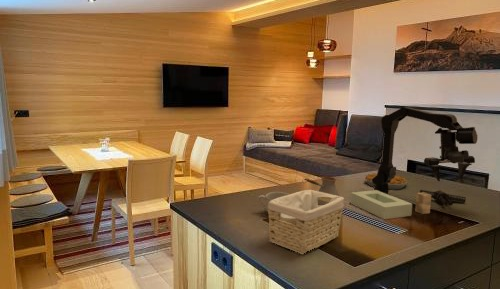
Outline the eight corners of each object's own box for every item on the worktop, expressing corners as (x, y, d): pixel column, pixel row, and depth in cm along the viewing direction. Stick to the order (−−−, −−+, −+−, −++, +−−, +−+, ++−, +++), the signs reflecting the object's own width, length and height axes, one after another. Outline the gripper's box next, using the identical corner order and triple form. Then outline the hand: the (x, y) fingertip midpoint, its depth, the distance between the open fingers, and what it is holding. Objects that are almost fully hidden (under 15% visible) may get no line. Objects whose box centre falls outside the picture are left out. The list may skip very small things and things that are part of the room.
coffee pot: (325, 201, 168) (327, 169, 166) (346, 208, 159) (348, 174, 157) (292, 210, 155) (293, 175, 153) (312, 218, 146) (314, 181, 144)
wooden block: (415, 211, 157) (416, 193, 155) (422, 210, 158) (423, 192, 157) (422, 214, 153) (424, 195, 152) (429, 213, 154) (431, 194, 153)
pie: (410, 183, 204) (410, 175, 203) (403, 192, 185) (403, 183, 185) (370, 178, 215) (370, 170, 214) (359, 186, 197) (360, 177, 196)
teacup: (293, 211, 153) (294, 193, 152) (287, 220, 143) (288, 200, 142) (262, 207, 158) (262, 189, 157) (254, 215, 148) (254, 196, 146)
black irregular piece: (476, 202, 157) (463, 192, 171) (428, 194, 160) (419, 185, 175) (473, 214, 158) (460, 203, 172) (425, 205, 161) (417, 196, 176)
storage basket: (306, 225, 138) (307, 187, 136) (344, 237, 127) (346, 196, 125) (264, 243, 121) (265, 200, 119) (304, 259, 110) (306, 212, 108)
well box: (350, 203, 166) (351, 192, 165) (375, 200, 171) (376, 190, 170) (384, 219, 146) (385, 207, 145) (411, 215, 151) (412, 203, 150)
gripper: (434, 146, 147) (436, 185, 148) (482, 143, 146) (483, 182, 147) (422, 145, 158) (424, 180, 159) (466, 142, 157) (468, 178, 158)
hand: (449, 180), depth 155 cm, fingers open, 9 cm apart
